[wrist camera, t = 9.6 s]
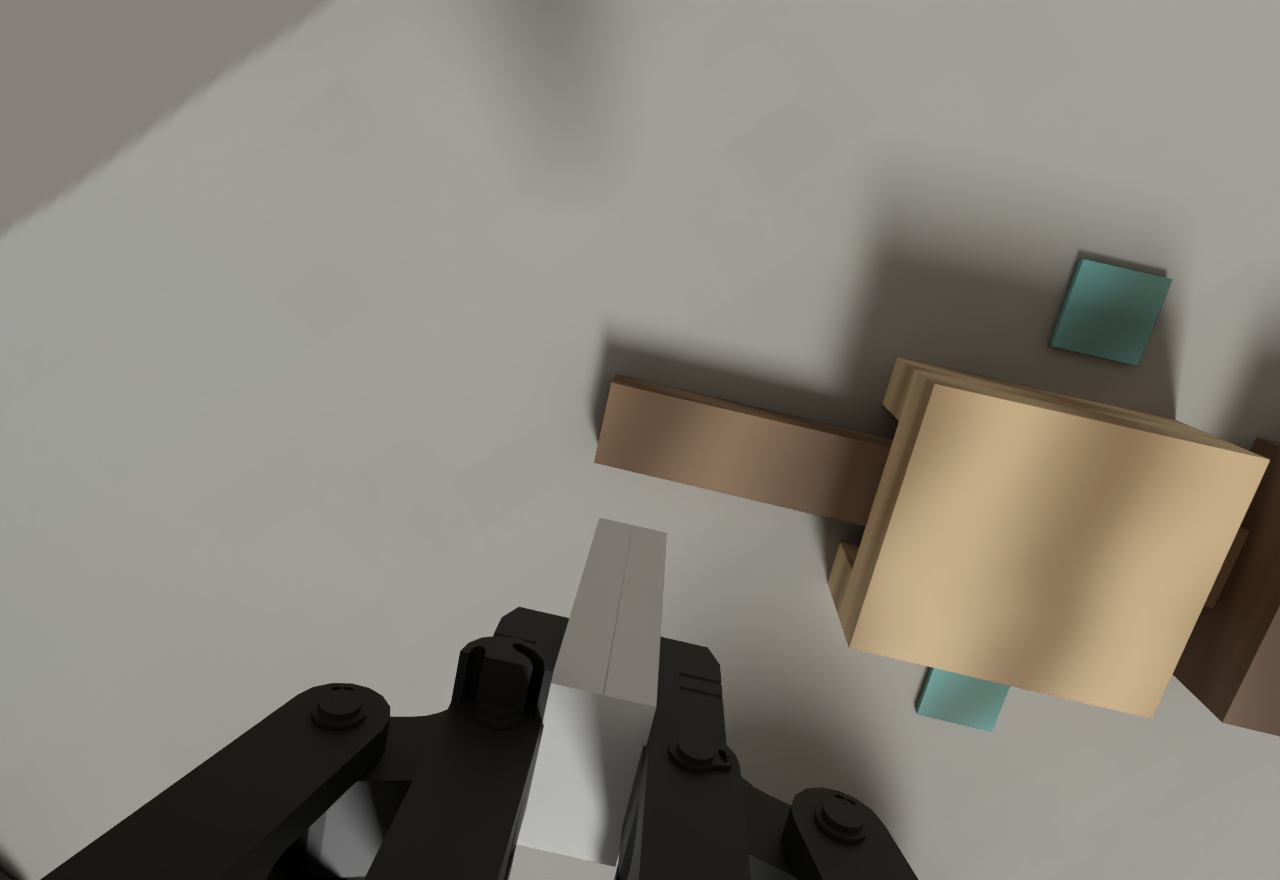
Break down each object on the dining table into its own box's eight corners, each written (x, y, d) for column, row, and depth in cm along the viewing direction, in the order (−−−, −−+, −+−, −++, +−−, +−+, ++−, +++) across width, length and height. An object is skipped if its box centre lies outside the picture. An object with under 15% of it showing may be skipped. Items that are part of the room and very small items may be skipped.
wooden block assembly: (562, 624, 32) (542, 679, 28) (661, 163, 27) (653, 154, 23) (1162, 768, 32) (1225, 844, 28) (1373, 325, 27) (1486, 342, 23)
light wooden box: (827, 581, 31) (848, 647, 26) (896, 356, 28) (934, 383, 24) (1082, 640, 31) (1152, 718, 26) (1173, 419, 28) (1270, 459, 23)
